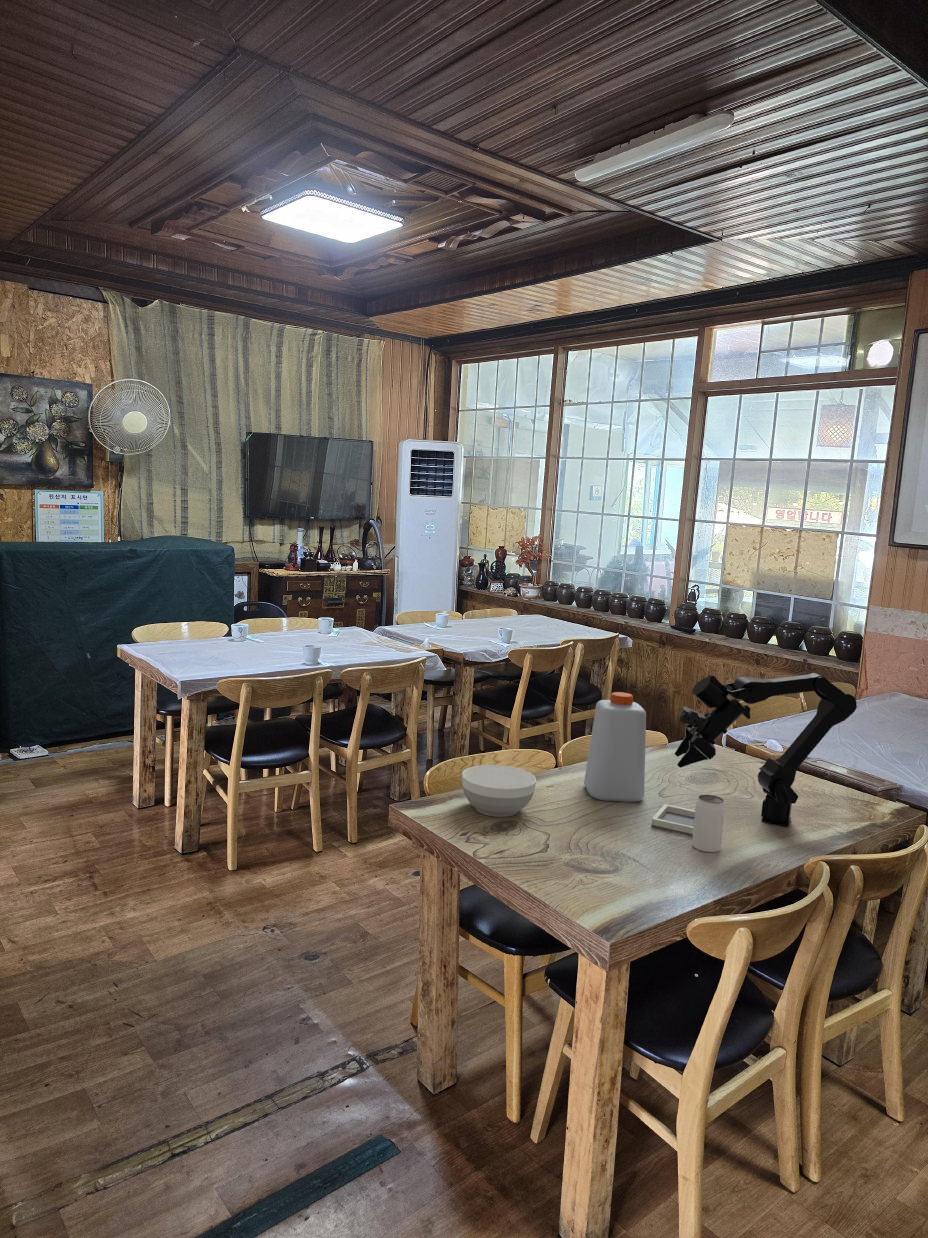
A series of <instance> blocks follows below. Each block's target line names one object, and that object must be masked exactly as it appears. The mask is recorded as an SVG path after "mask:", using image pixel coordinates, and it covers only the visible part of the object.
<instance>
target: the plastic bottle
mask: <svg viewBox="0 0 928 1238" xmlns="http://www.w3.org/2000/svg"><path fill="white" fill-rule="evenodd" d="M593 718H594V719H593V724H592V730H591V731H592V732H591V736H590V743H589V747H588V749H589V750H588V755H587V762H586V766H585V767H586V769H585V774H584V781H583V784H584V786H585V789H586V790H587V792H588V794H589V796H591V798H594V799H596V800H599V801H605V802H624V803H637V802H640V801H642V800H643V799H644V797H645V783H646V782H645V774H646V739H647V738H646V736H647V734H646V733H647V732H646V731H647V712H646V710H645V709H644V707H642V706H641V705H640V704H639V703H637V702H635V701H634V696H633V694H631V693H629V692H628V693H627V692H623V691H614V692H611V694H610V699H601V700H599V701H597V702H596V705H595V710H594V717H593Z"/></svg>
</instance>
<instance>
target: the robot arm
mask: <svg viewBox="0 0 928 1238" xmlns="http://www.w3.org/2000/svg"><path fill="white" fill-rule="evenodd" d="M808 692H814V694H815V695H816V696H817V697H819V699H820V700H819V703H817V708H816V713H815V715H814V717H813V718H812V719H811V720H810V721H809V723H808V724H807V725H806V726H805V727H804V728H803V730H802V731H801V732H800V733H799V735H798V736H797V737H796V739H795V740H794V741H792V743H790V745H789V746H788V748H787V749H786V750H785V751H784V752H783V754H782V755H781V756H780V757H778V758H776V759H775V760H774V759H773V758H771V757H768V758H767V759H766V761H765V763H764V764H763V765H762V766H761V767H759V768H758V769H759V770H760V771H759V772H758V773H757V781H758V784H759V785H760V786H761V787H762V791H763V793H765V798H764V799H763V801H762V806H761V811H760V812H761V813H760V816H761V818H762V819H761V821H762V822H765V823H768V824H769V823H770V824H774V825H779V826H783V827H789V826H790V823H791V821H792V817H791V814H792V807H793V806H792V805H793V804H794V805H795V804H796V803H797V801H798V799H799V795H798V793H796V792H795V790H794V789H793V788H792V785H793V784H794V783H795V779H796V776H797V770H798V768H799V767H800V766H801V765H802V764H803V763H804V761H805V760H806V759H808V756H809V755H810V754H811V753H812V752H813V751H814V750H815V748H816V747H817V746H818V745H819V744H820V743H821V741H822V740H823V739H824V738H825V737H826V735H827V734H828V732H830V730H831V729H832V728H833V727H834V726H836V725H839V724H841V723H842V722H844V721H846V720H847V719H848V718H849V717H851V716H852V715H853V714H854V713H855V712H856V710H857V707H858V705H857V699H856V698H855V697H854V696H853V695H852V694H850V693H847V692H845V691H843V690H841V689H840V688H839V687H837V686H836V685H835V684H833V683H832V682H830V681H829V680H828V679H827V678H826V677H825V676H824V675H821V674H819V673H816V672H812V673H809V674H802V675H801V674H799V675H794V676H784V677H778V678H777V677H776V678H758V677H752V676H751V677H749V676H747V677H746V676H741V677H738V678H736V679H735V681H733V682H729V683H724V684H722V683H721V682H720V681H719V680H718V679H717V677H716V676H714V675H712V674H708V676H707V677H703V678H702V679H700V680H699V681H697V682H696V684H694V686H693V687H692V691H691V693H692V695H693V696H695V697H696V698H697V699H698V700H699V701H700V702H701V703H703V704H704V705H705V706H706V707H707V708H708V709H712V710H711V711H706V712H705V713H704V714H703V713H701V712H698V711H696V710H694V709H691V708H690V707H687V706H682V708H681V710H680V712H679V715H678V716H677V718H678V721H679V722H681V723H683V724H685V726H684V732H685V733H684V734H685V735H684V737H683V738H682V740H681V742H680V744H679V745H678V747H677V749H676V750H675V752H674V755H675V756H676V757H678V758H679V757H680V756H682V757H681V758H680V760H679V761H678V763H677V764H676V765H677V766H678V767H679V768H683V767H686V766H689V765H693V764H695V763H699V762H702V761H707V760H712V759H713V758H714V756H716V754H717V753H716V751H717V750H716V747H715V744H716V743H717V742H716V740H717V739H719V737H721V735H722V734H723V735H726V733H728V728H730V727H731V725H733V724H734V723H736V721H737V720H738V719H739V718H740V717H741V716H744V717H745V718H746V719H747V720H750V719H751V710H752V709H751V708H750V706H749V705H753V704H757V703H760V702H764V701H766V700H768V699H770V698H773V697H775V696H776V697H777V696H783V695H789V694H790V695H791V694H798V693H799V694H800V693H808ZM728 696H730V697H732V699H731V698H730V697H728ZM739 700H740V701H742V702H744V703H746V705H744V704H742V703H741V702H740V701H739ZM713 708H714V709H713Z"/></svg>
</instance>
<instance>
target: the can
mask: <svg viewBox="0 0 928 1238" xmlns="http://www.w3.org/2000/svg"><path fill="white" fill-rule="evenodd" d="M695 803H696V804H695V809H694V810H695V819H694V828H693V836H692V838H691V839H692V840H691V845H692V847H693V848H694V849H695V850H697V851H700V852H703V853H709V854H712V853H717V852H719V851H720V850H721V847H722V837H723V831H724V829H723V827H724V820H725V819H724V818H725V811H726V810H725V808H726V807H725V803H724V799H723V798H722V797H720V796H717V795H715V794H714V795H713V794H706V793H705V794H700V795H698V799H697V801H696V802H695Z"/></svg>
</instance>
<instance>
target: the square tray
mask: <svg viewBox="0 0 928 1238" xmlns="http://www.w3.org/2000/svg"><path fill="white" fill-rule="evenodd" d="M694 819H695V809H690V808H684V807H680V806H677V805H676V806H675V805H671V804H667V803H664V804H663V806H661V808H660V809H659V810H658V811H657V812H656V813H655V815H654V816H653V817H652V818H651V822H650V827H652V828H656V829H660V830H661V829H662V830H664V831H665V830H666V831H669V832H674V833H679V834H681V835H682V834H683V835H687V836H691V837H693V828H694Z"/></svg>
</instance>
